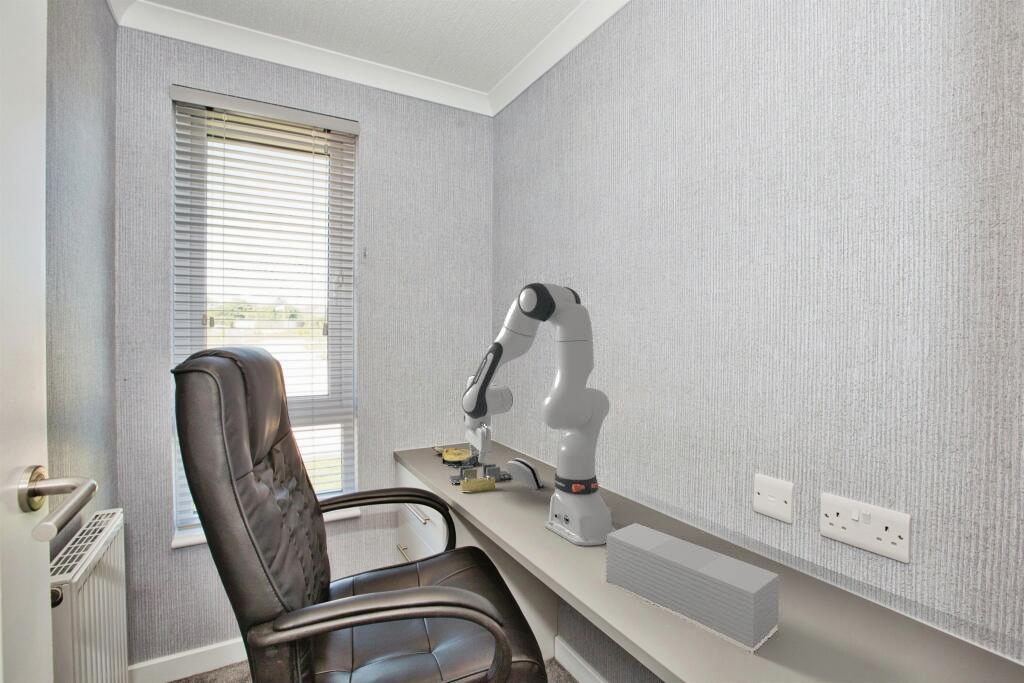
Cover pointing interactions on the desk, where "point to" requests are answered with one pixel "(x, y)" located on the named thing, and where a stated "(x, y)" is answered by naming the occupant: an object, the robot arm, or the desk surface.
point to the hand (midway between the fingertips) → (477, 459)
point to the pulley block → (456, 456)
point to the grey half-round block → (524, 473)
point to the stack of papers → (695, 582)
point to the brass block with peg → (478, 484)
